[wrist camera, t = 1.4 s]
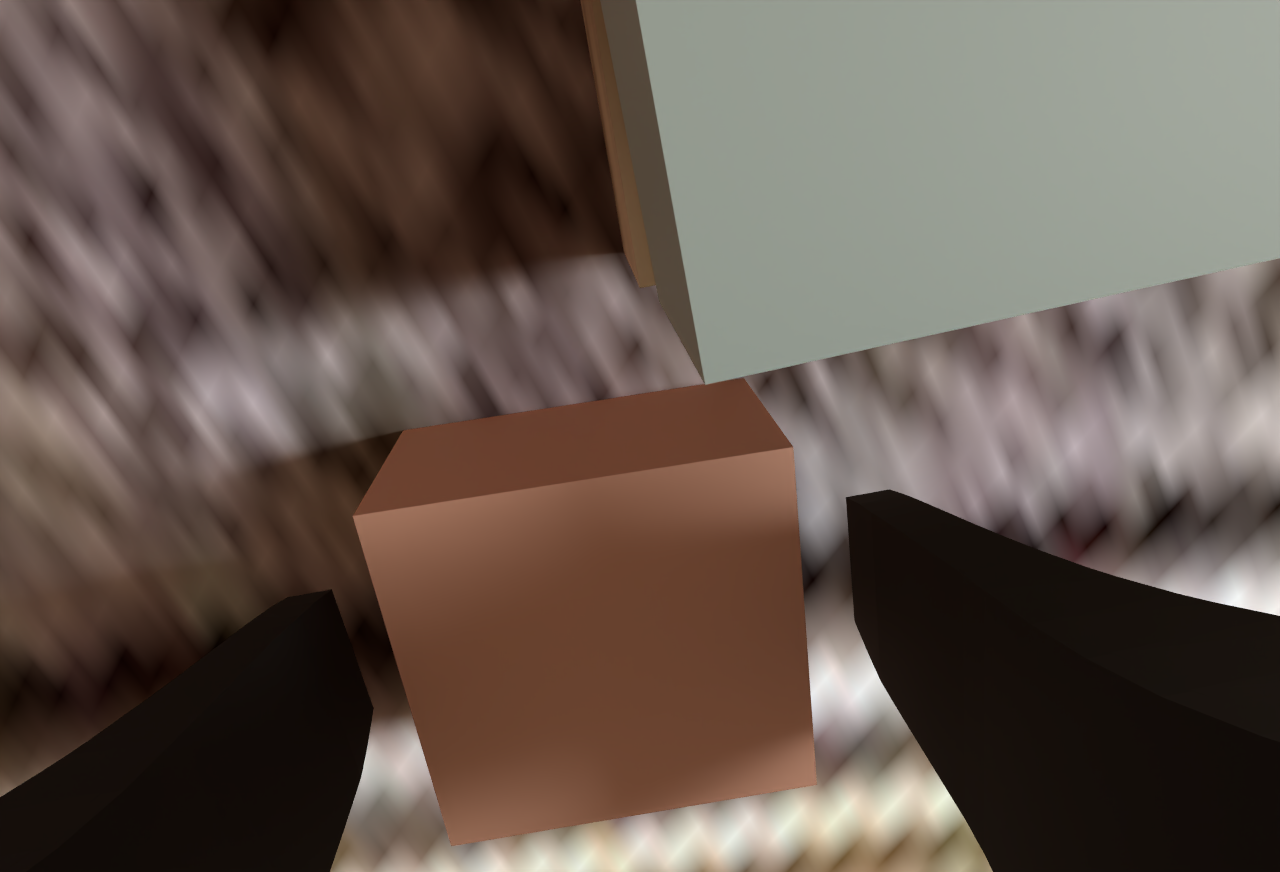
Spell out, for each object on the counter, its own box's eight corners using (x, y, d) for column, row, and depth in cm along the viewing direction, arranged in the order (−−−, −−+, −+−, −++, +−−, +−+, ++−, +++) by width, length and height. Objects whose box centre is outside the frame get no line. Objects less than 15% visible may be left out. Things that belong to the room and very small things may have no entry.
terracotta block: (766, 651, 13) (817, 785, 11) (477, 698, 13) (451, 845, 11) (740, 374, 12) (792, 446, 9) (406, 425, 12) (353, 515, 9)
